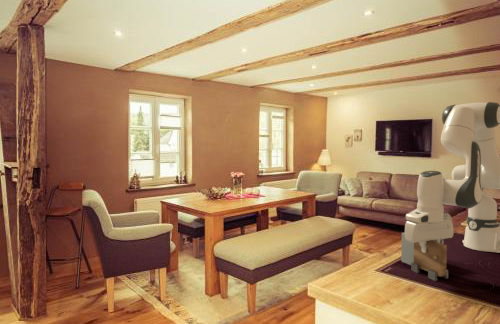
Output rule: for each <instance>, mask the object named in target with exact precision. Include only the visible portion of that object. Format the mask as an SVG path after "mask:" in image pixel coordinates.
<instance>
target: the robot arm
mask: <svg viewBox="0 0 500 324" xmlns="http://www.w3.org/2000/svg"><path fill="white" fill-rule="evenodd" d="M441 118H442V119H441V121H442V124H443V127H442V130H441V133H440V143H441V145H442V148H444V149H445V150H446V151H448V152H449V153H451V154H453V155H455V156H459V157H461V158H463V159H465V164H460V165H458V164H457V165H456V166H454V168H453V169H452V170H451V174H450V175H451V176H450V177H451V179H448V178H444V177H443V173H442V172H441V171H439V170H425V171H422V172H420V173H419V175H418V179H417V186H416V197H417V203H416V208H414V210H411V211H410V212H409V213H408V212H407V213H406V214H405V220H407V221H406V222H405V225H404V233H405V239H406V240H407V241H409V242H412V243H416V242H419V244H420V246H421V251H422V252H424V253H426V252H428V248H427V247H426V245H425V244H426V241H431V240H433V241H435V242H438V243H440V239H444V240H445V239H446V240H447V239H452V238H453V237H454V224H453V220H452V216H451V214H449V213H448V212H447V213H446V212H445V211H444V208H445V207H444V205H447V206H456V207H459V208H464V209H467V210H468V211H467V213H468V214H467V216H466V224H467V225H466V227H465V231H464V239H462V243H463V246H464V248H465V247H466V248H468V249H471V250H474V251H475V250H476V251H479V252H489V253H490V252H491V253H498V254H499V253H500V218H497V217H498V215H497V213H498V204H497V201H496V200H495V199H494V198H492V197H491V196H490V195H487V194H485V192H484V191H483V190H482V189H491V190H492V189H493V190H500V155H499V152H498V149H497V144H496V143H497V142H496V132H495V131H496V130H495V128H496V127H498V126H499V125H500V103H498V102H494V101H488V102H481V101H479V102H469V103H460V104H451V105H448V106H446V107H445V108H444V109H443V111H442V115H441ZM444 212H445V213H444Z"/></svg>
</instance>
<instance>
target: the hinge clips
mask: <svg viewBox="0 0 500 324" xmlns="http://www.w3.org/2000/svg"><path fill="white" fill-rule="evenodd" d="M410 266H411V267H410V271H412V272H413V273H416V274H419V273H420V268H419V265H418V264H416V263H411V265H410ZM427 278H428V279H430V280H432V281H434V282H436V281H438V276H437V272H435V271H433V270H428V271H427ZM441 278H442V279H446V280H448V279H449V270H448V269H446V276H441Z"/></svg>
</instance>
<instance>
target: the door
mask: <svg viewBox="0 0 500 324" xmlns="http://www.w3.org/2000/svg"><path fill="white" fill-rule="evenodd" d="M425 245H426V247H427V248H428V252H426V253H424V252H422V251H421V246H420V244H419V242H416V243H414V263H416V264H418V265H419V269H421V270H424V271H426V272H428V270H433V271H435V272H437V277H441V276H446V270H447V253H448V252H447V251H448V249H447V247H448V245H447V244H441V243H438V242H435V241H426V244H425ZM441 278H442V277H441Z"/></svg>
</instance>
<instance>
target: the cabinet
mask: <svg viewBox="0 0 500 324" xmlns="http://www.w3.org/2000/svg"><path fill="white" fill-rule="evenodd" d="M444 240H445V239H440V243H441V244H444ZM431 241H433V240H431ZM400 245H401V249H400V251H401V255H400V258H401V259H400V261H401V262H402V263H405V264H406V265H409V266H411V263H414V243H412V242H409V241H407V240H406V239H405V232H401V244H400ZM444 245H445V244H444Z"/></svg>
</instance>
